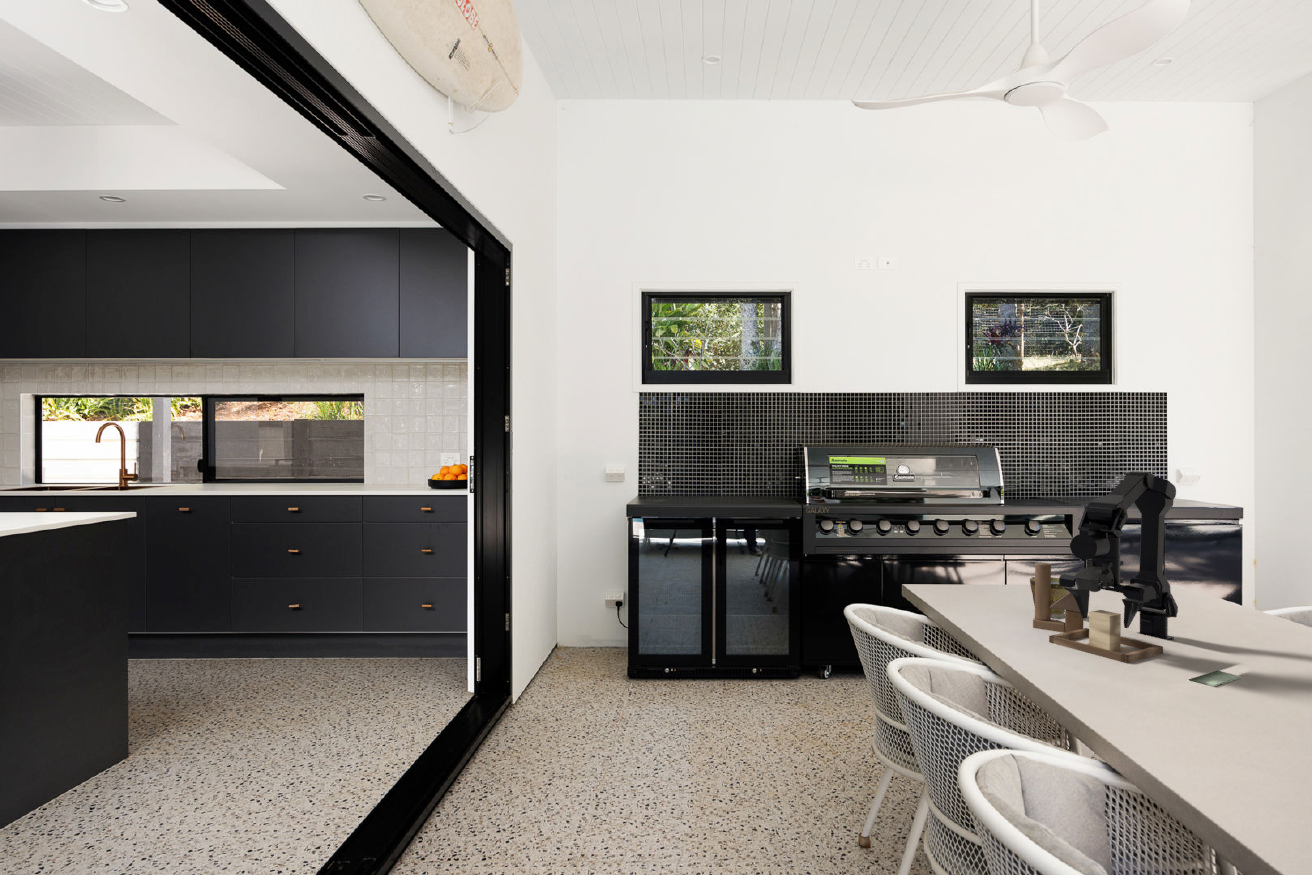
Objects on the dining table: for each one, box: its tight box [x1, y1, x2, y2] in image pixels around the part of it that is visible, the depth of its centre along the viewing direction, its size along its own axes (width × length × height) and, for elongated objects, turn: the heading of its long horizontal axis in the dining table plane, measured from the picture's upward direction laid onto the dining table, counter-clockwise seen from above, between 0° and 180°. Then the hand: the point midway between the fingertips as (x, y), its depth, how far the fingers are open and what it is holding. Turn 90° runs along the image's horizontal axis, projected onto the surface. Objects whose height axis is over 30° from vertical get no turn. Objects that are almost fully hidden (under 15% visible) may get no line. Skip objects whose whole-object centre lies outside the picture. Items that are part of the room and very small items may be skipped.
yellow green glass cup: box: [1029, 576, 1069, 619], centre depth 197 cm, size 13×10×10 cm
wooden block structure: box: [1032, 561, 1084, 633], centre depth 175 cm, size 4×11×18 cm, turn 52°
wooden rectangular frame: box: [1048, 627, 1164, 664], centre depth 160 cm, size 15×17×3 cm
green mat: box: [1187, 670, 1241, 688], centre depth 146 cm, size 11×11×1 cm
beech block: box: [1088, 609, 1122, 651], centre depth 160 cm, size 4×4×8 cm
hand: (1105, 623), depth 160 cm, fingers open, 9 cm apart
